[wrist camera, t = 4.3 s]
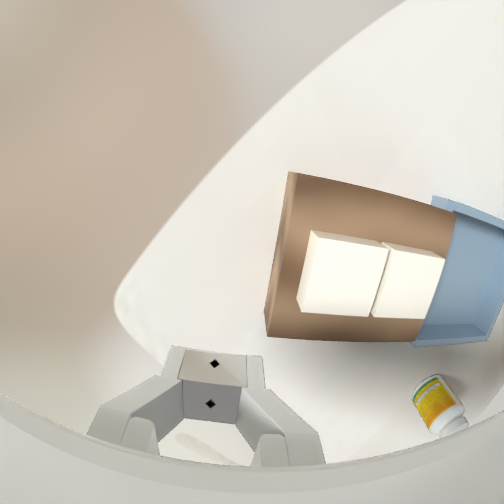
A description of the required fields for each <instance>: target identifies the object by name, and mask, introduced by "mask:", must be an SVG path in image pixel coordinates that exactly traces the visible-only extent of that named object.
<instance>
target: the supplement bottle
mask: <svg viewBox="0 0 504 504" xmlns="http://www.w3.org/2000/svg"><path fill="white" fill-rule="evenodd" d="M412 401H413V403H414V405H415V406H416V408H417V410H418V411H419V413H420V415H421V417H422V418H423V420H424V422H425V424H426V426H427V427H428V429H429V431H430V432H431V433H432V434H433V435H439V437H440V438H443V437H446V436H448V435H451V434H454V433H456V432H459V431H461V430H464V429H466V428H468V426H469V423H468V421H467V420H466V418H465V417H463V414H464V406H463V404H462V403H461V402H460V400H459V399H458V397H457V396H456V395H455V393H454V392H453V391H452V389H451V388H450V386H449V385H448V384H447V382H446V381H445V380H444V379H443V377H442V376H440V375H433V376H431V377H429V378H427V379H425V380H424V381H422V382H421V383H420V384H419V385H418V386H417V387H416V389H415V390H414V392H413V394H412Z"/></svg>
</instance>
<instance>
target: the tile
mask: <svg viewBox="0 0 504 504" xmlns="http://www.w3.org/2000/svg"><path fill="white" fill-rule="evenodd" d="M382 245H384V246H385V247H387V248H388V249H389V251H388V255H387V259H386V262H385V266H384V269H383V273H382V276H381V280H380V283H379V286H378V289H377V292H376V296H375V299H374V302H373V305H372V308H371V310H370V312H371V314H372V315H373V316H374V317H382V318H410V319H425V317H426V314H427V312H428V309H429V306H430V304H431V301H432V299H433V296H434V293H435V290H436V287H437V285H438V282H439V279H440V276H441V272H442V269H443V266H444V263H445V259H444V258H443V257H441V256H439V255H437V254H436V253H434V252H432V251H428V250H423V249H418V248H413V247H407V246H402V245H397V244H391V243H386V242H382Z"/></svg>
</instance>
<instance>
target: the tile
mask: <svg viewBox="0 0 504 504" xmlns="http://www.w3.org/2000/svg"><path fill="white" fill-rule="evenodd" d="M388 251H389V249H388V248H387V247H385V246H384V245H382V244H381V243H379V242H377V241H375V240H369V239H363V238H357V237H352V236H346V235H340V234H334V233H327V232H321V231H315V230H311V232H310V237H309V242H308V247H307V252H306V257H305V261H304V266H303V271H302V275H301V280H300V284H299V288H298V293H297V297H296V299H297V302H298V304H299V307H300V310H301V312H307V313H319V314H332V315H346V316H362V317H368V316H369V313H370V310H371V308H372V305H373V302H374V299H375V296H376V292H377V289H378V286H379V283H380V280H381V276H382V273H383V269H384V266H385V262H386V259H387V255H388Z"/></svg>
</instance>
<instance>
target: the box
mask: <svg viewBox="0 0 504 504" xmlns="http://www.w3.org/2000/svg"><path fill="white" fill-rule="evenodd" d="M431 205H432V206H435V207H438V208H441V209H444V210H447V211H450V212H453V213H456V214H457V217H456V222H455V226H454V230H453V234H452V238H451V242H450V246H449V250H448V253H447V257H446V260H445V264H444V267H443V270H442V273H441V276H440V279H439V282H438V285H437V288H436V291H435V294H434V296H433V299H432V302H431V304H430V307H429V310H428V312H427V315H426V317H425V320H424V322H423V324H422V327H421V329H420V331H419V334H418V336H417V338H416V340H415V341H412V342H411V343H412V344H413V346H414V347H424V346H439V345H452V344H463V343H472V342H481V341H487V339H488V337H489V334H490V332H491V330H492V328H493V326H494V324H495V321H496V319H497V317H498V315H499V312H500V310H501V307H502V305H503V302H504V221H503V220H501V219H498V218H496V217H494V216H492V215H489V214H487V213H485V212H482V211H480V210H477V209H475V208H472V207H470V206H467V205H465V204H462V203H459V202H455V201H452V200H449V199H446V198H442V197H438V196H433V197H432V203H431Z"/></svg>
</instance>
